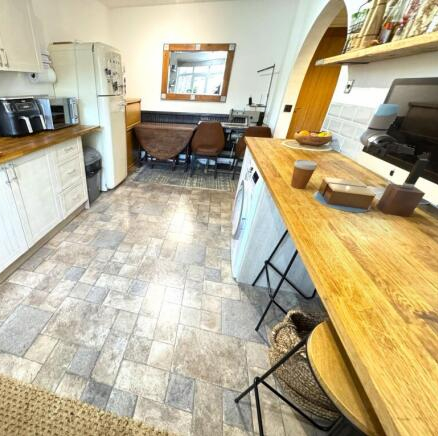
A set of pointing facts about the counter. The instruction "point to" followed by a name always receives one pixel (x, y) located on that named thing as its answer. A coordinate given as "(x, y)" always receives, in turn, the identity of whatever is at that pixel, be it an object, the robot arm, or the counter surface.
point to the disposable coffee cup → (302, 173)
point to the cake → (345, 195)
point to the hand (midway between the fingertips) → (406, 155)
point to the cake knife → (415, 173)
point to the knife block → (399, 200)
